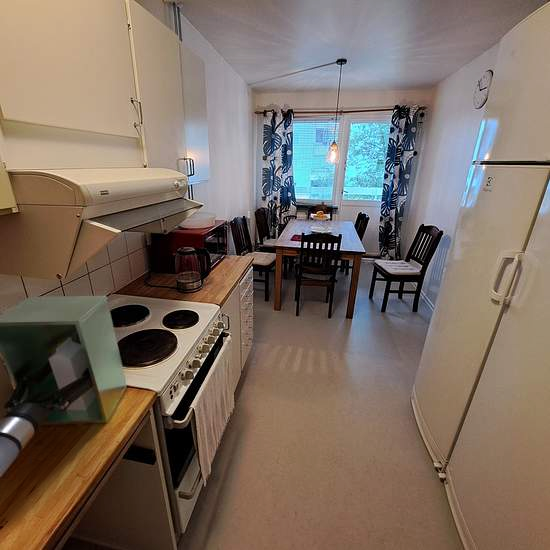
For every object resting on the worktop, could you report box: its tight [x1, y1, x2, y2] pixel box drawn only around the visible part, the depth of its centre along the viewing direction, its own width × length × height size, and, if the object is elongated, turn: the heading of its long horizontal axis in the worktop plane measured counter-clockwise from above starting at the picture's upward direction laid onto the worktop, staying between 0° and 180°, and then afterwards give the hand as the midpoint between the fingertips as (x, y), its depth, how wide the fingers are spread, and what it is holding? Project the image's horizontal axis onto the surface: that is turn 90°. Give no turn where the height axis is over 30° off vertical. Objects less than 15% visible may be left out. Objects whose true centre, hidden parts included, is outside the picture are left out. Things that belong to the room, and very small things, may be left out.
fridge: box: [0, 295, 128, 426], centre depth 82 cm, size 14×21×34 cm, turn 94°
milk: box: [49, 337, 96, 410], centre depth 83 cm, size 6×6×22 cm
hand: (74, 363), depth 84 cm, fingers open, 12 cm apart
